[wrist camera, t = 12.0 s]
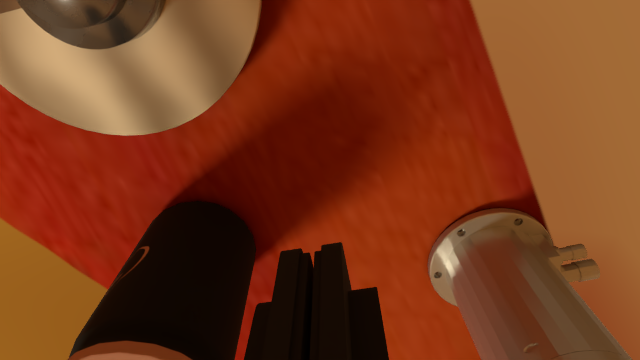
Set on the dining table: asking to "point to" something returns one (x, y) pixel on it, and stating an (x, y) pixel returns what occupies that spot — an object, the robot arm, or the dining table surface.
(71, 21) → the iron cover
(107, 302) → the coffee jar
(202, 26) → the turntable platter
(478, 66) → the dining table surface
